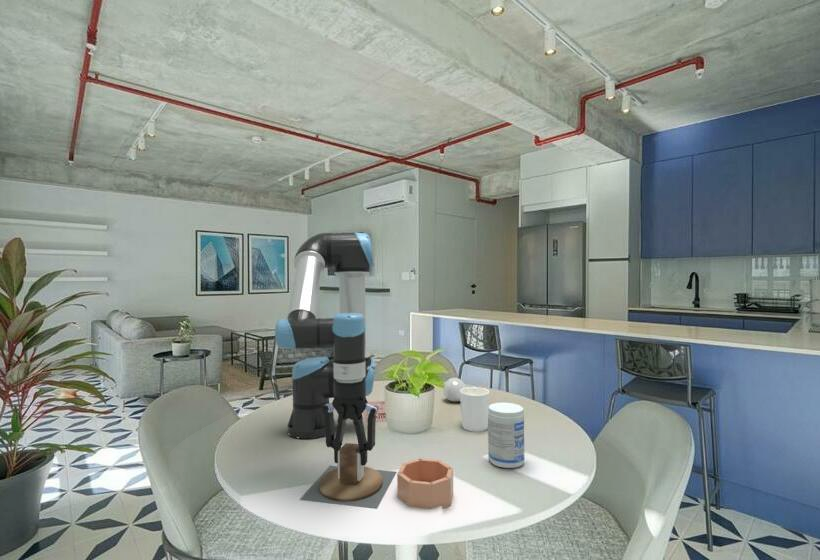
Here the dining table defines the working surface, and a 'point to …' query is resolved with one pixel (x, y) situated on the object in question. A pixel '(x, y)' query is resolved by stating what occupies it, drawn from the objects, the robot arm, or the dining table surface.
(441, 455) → the dining table surface
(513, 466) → the supplement tub
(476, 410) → the candle holder
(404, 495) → the bowl
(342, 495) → the lid
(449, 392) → the potion bottle
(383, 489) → the mat
